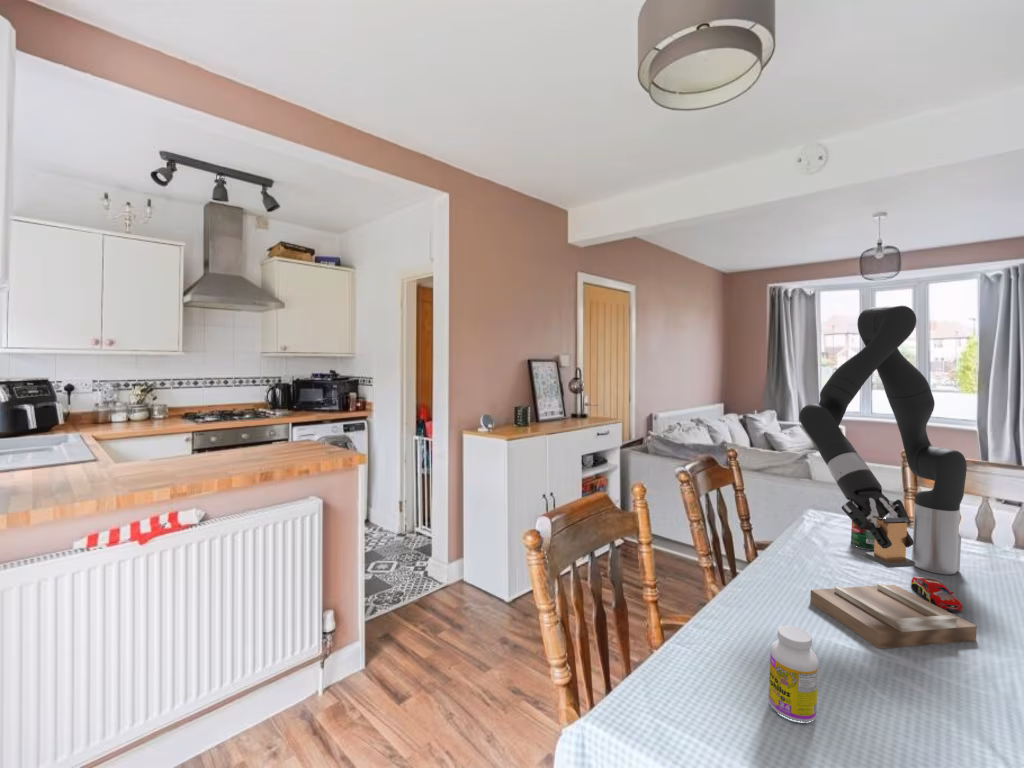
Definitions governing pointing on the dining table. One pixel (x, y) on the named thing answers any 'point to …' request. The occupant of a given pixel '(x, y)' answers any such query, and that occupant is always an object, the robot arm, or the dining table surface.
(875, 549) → the block with metal roller
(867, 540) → the canned tomato
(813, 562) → the dining table surface
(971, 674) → the dining table surface
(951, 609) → the race car
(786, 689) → the supplement bottle
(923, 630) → the dock
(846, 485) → the robot arm
